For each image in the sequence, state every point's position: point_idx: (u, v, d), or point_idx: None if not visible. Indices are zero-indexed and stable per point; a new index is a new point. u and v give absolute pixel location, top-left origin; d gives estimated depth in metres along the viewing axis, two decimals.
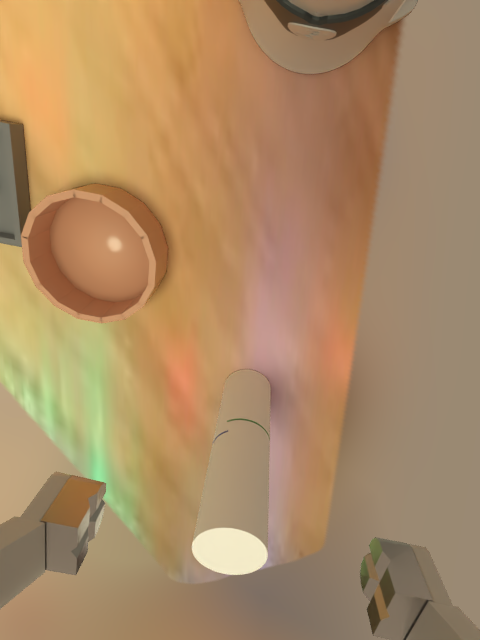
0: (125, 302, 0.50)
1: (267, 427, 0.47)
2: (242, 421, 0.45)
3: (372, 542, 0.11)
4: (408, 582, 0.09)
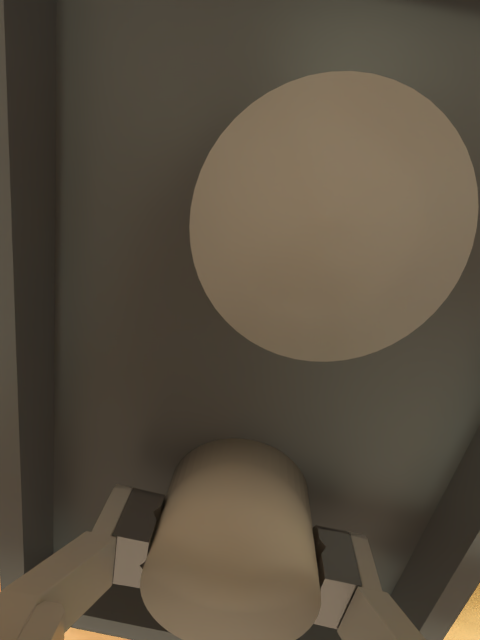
0: None
1: None
2: None
3: (313, 530, 0.11)
4: (340, 568, 0.09)
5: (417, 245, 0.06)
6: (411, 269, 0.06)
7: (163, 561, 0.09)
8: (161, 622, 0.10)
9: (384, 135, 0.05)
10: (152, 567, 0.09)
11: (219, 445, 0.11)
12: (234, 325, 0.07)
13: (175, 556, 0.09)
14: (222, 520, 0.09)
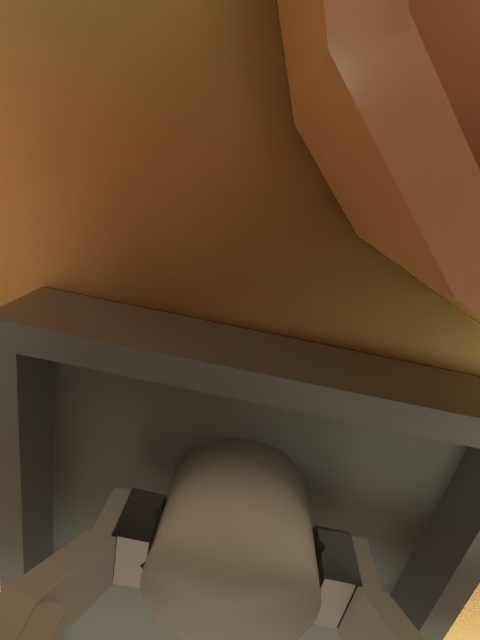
0: None
1: None
2: None
3: (313, 530, 0.11)
4: (340, 568, 0.09)
5: (285, 605, 0.09)
6: (284, 615, 0.09)
7: None
8: None
9: (257, 557, 0.09)
10: None
11: None
12: (173, 632, 0.10)
13: None
14: None
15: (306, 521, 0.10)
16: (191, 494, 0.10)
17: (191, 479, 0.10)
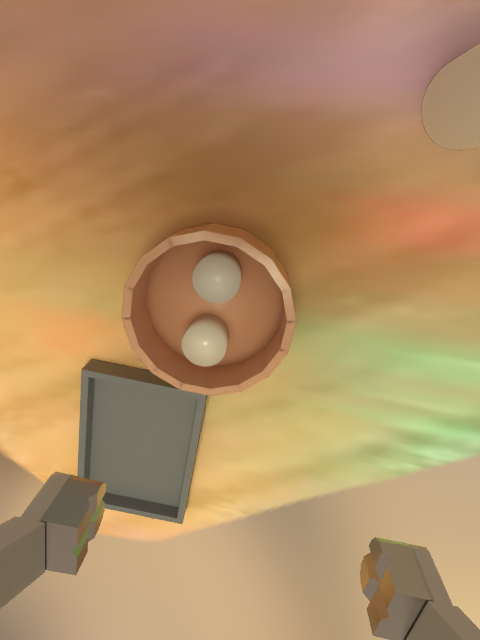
0: None
1: None
2: None
3: (372, 542, 0.11)
4: (408, 582, 0.09)
5: (231, 281, 0.34)
6: (231, 285, 0.35)
7: (187, 335, 0.37)
8: (186, 356, 0.38)
9: (223, 264, 0.34)
10: (184, 338, 0.37)
11: (202, 315, 0.39)
12: None
13: (190, 334, 0.37)
14: (201, 324, 0.36)
15: (238, 265, 0.35)
16: (205, 256, 0.35)
17: (205, 255, 0.36)
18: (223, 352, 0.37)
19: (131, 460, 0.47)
